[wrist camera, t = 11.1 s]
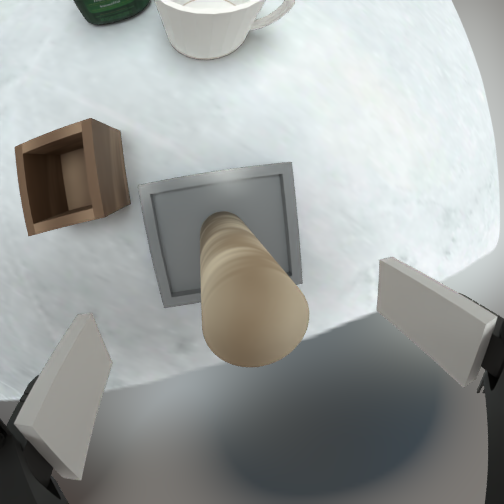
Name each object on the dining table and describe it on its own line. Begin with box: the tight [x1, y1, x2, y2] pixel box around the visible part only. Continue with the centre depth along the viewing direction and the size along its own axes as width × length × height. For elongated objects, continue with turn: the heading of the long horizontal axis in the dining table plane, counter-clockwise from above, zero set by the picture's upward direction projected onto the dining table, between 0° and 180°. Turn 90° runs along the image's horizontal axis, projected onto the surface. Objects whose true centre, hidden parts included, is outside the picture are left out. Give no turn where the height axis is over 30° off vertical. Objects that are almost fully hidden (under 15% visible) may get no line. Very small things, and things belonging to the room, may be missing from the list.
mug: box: [154, 0, 295, 60], centre depth 17 cm, size 11×9×10 cm
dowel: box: [200, 211, 309, 367], centre depth 19 cm, size 4×4×17 cm
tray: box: [138, 162, 302, 308], centre depth 27 cm, size 14×12×2 cm
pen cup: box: [15, 118, 131, 236], centre depth 20 cm, size 7×7×8 cm
